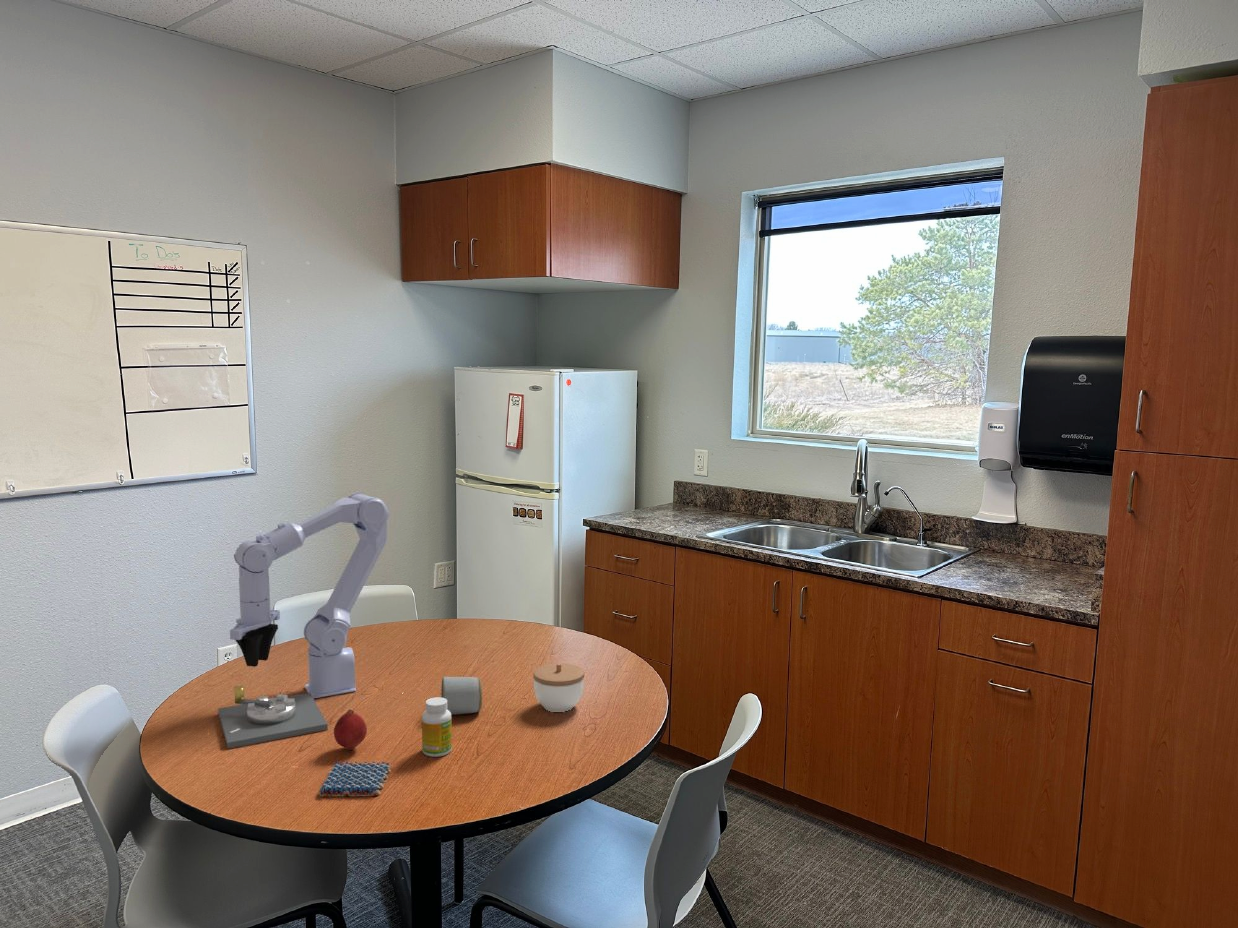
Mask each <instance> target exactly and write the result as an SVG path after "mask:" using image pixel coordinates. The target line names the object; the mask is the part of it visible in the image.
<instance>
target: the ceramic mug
mask: <svg viewBox="0 0 1238 928" xmlns="http://www.w3.org/2000/svg"><path fill="white" fill-rule="evenodd" d="M440 688H441V690H440V691H441V693H440V694H441V695H440V696H441V698H445V699H447V710H449V711H450V712H451V716H452V715H453V716H455V715H464V714H465V715H466V714H474V713H478V712H480V711H481V710H482V706H483V683H482V680H481V679H480V678H479V677H475V676H442V677H441V687H440Z"/></svg>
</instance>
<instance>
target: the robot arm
mask: <svg viewBox="0 0 1238 928" xmlns="http://www.w3.org/2000/svg"><path fill="white" fill-rule="evenodd" d="M390 515H391V514H390V512H389V510H388V507H387V505H386V504H385V502H384V501H383V500H382V499H380V498H378V497H372V496H369V495H366V494H364V493H363V492H353V493H351V494H350V495H348V496H344V497H342V498H341V497H340V499H339V500H337V501H335V503H332V504H331V505H329V506H328V507H325V508H323V509H322V510H321V511H319V512H317V513H315V514H314V515H312V516H310V517H308V518H306V519H304V520H302V521H301V522H299V523H297V524H296V523H292V522H287V523H285V522H283V521H282V522H279V523H278V524H277V526H276V527H277V528H275V529H273V530H270V531H269V532H267V533H264V534H263V535H262V534H258V535H256V536H255V540H254V539H252V540H250V539H247V540H245V541H243V542H241V543H240V544H239V546H238V547H237V548H236V550H235V553H234V554H233V558H234V561H235V563H236V564H237V565H238V574H239V577H238V586H239V589H238V590H239V609H240V611H239V612H240V613H239V615H240V617H239V618H237V619H235V623H236V625H235V626H234V627H233V628H231V629H229V639H230V640H232V641H233V640H234V641H235V642H236V643H237V645H238V646H239V648H240V650H241V653H242V655H243V659H244V661H245V664H246V667H257V666H258V664H259V661H265V662H266V661H268V659H269V656H270V651H271V647H272V643H273V639H274V637H275V635H276V633H277V631H278V629H279V625H278V624H277V623H273V621H278V620H280V619H281V613H280V610H279V609H271V596H270V575H269V568H270V567H271V565H272V564H273V561H276V560H278V559H280V558H281V557H284V556H286V555H288V554H290V553H291V552H294V551H295V550H298V549H299V548H301V547H302V546H303V545H304V542H305V540H306V538H308V537H310V536H311V537H312V535H314V534H317V533H319V532H321V531H324V530H325V529H328V528H330V527H332V526H335V525H336V524H339V523H347V524H352V525H354V527H355V529H356V532H357V535H358V537H359V541H358V543H356V546H355V548H354V550H353V553H352V554H351V555H350V558H349V559H348V562H347V564H346V565H345V567H344V569H343V572H342V573H341V575H340V577H339V579H338V581H337V583H336V585H335V587H334V589H333V591H332V593H331V594H330V596H329V599H328V600H327V602H326V604H324V605H323V606H321V607H319V608H318V609H317V611H316V613H315V614H314V616H313V617H312V618H310V619H309V620H308V621H307V622H306V623H305V626H304V628H303V636H304V639H305V640H306V642H307V643H309V644H308V645H309V647H308V650H307V651H308V652H307V657H308V658H307V659H308V683H307V684H304V688H305V690H306V692H307V693H311V695H312V697H313V699H317V698H323V697H329V696H334V695H336V696H337V695H341V694H346V693H353V692H356V691H357V688H356V665H355V661H356V660H355V655H354V651H353V648H352V647H345V646H346V644H347V641H348V632H349V630H350V627H351V616H350V613H351V611H353V610H352V609H353V608H354V606H355V604H356V602H357V601H358V598H359V597H360V594H361V592H362V590H363V588H364V586H365V584H366V583H367V581H368V578H369V576H370V574H371V573H372V571H373V569H374V568H375V567H374V566H375V565H376V563H377V561H378V558H379V557H380V556H381V553H382V551H383V549H384V547H385V545H386V543H387V541H388V540H387V539H388V538H387V537H388V534H387V533H388V520H389V518H390V517H391V516H390Z"/></svg>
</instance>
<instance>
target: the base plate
mask: <svg viewBox="0 0 1238 928" xmlns="http://www.w3.org/2000/svg"><path fill="white" fill-rule="evenodd" d="M287 698H290V699H293V698H294V701H295V706H296V714H295V715H294V717H292V718H291V719H289V720H287V721H284V722H281V723H277V724H271V725H257V724H252V723H250V722H249V721H248V720H247V707H248V705H247V704H235V705H231V706H230V705H229V706H225V707H219V708H218V710H217V714H218V718H219V722H220V725H221V728H222V732H223V736H224V739H225V744H226V748H227V749H229V750H230V749H234V748H239V746H240V747H245V746H249V745H254V744H255V745H256V744H261V743H265V742H272V741H276V740H281V739H287V738H292V737H296V736H302V735H306V734H312V733H318V732H324V731H328V726H329V725H328V722H327V721H326V719H325V717H324V714H323V713H322V711H321V709H320V708H319V706H318V704H317V703H316V701H315V698H313V697H312V695H311V693H308V692H307V693H306V692H305V693H302V694H295V695H294V694H293V695H289V696H288V695H287Z"/></svg>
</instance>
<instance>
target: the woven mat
mask: <svg viewBox="0 0 1238 928" xmlns="http://www.w3.org/2000/svg"><path fill="white" fill-rule="evenodd" d="M390 767H391V764H390V763H389V762H386V763H385V761H381V763H380V762H375V761H372V763H371V762H368V763H367V761H364V762H363V763H362V762H359V763H358V762H357V761H355V762H354V763H352V762H350V763H349V762H348V761H345V763H344V762H342V763H340V762H339V761H337V762H336V764H334V765H332V766H331V770H329V771H328V775H327V776H326V778H325V780H324V783H323V784H322V785H321V787H320V788H321V789H320V791H319V792H317V794H318V796H320V797H326V798H327V797H348V796H349V797H377V796H380V795H381V793H382V792H381V790H382V789H383V788H384V787H385V786H384V783H387V779H388V778H389V775H388V774H390V773H391V771H392V770H391V768H390Z"/></svg>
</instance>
